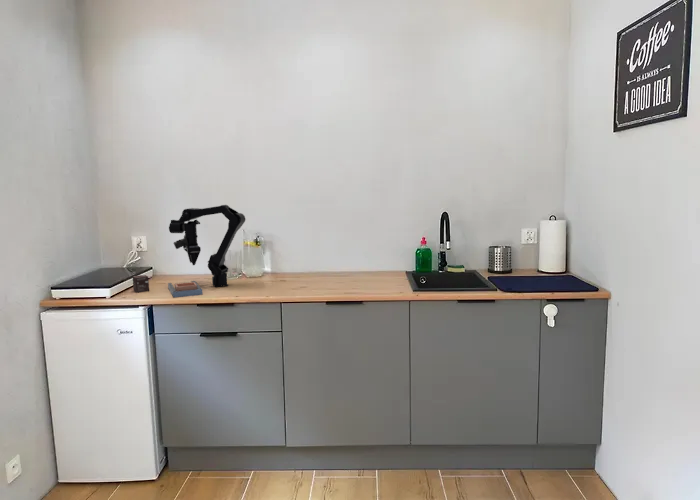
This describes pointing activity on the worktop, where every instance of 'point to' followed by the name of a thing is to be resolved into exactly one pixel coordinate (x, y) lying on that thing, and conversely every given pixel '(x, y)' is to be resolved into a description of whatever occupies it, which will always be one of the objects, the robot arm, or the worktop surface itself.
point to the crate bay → (185, 291)
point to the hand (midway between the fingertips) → (192, 263)
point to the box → (140, 283)
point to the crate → (185, 286)
